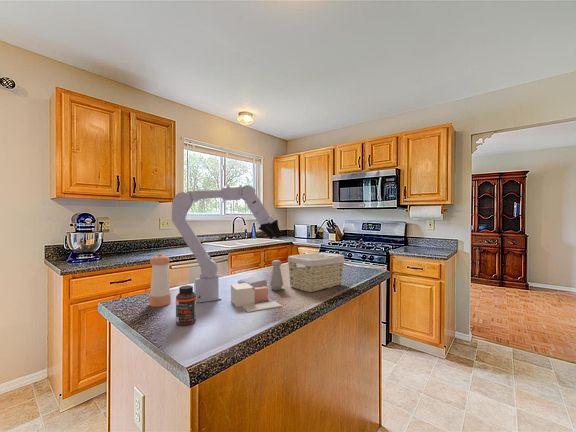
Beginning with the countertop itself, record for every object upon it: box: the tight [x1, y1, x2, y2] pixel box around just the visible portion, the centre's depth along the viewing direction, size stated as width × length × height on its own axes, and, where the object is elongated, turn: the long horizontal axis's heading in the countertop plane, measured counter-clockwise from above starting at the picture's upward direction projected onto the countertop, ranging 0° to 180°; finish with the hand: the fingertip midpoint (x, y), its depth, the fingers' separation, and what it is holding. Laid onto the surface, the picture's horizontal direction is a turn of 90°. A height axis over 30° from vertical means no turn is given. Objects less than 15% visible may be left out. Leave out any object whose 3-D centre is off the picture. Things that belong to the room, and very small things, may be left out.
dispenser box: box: [230, 283, 256, 308], centre depth 106 cm, size 7×8×6 cm
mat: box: [241, 300, 282, 313], centre depth 101 cm, size 13×6×1 cm, turn 116°
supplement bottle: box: [175, 284, 197, 327], centre depth 86 cm, size 6×6×11 cm
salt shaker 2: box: [269, 259, 284, 291], centre depth 125 cm, size 6×6×13 cm
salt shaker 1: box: [149, 253, 172, 308], centre depth 105 cm, size 7×7×19 cm
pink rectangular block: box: [254, 286, 269, 303], centre depth 108 cm, size 11×2×5 cm, turn 116°
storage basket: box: [287, 251, 345, 293], centre depth 130 cm, size 24×16×15 cm
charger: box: [236, 276, 268, 288], centre depth 126 cm, size 5×9×15 cm
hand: (275, 237), depth 118 cm, fingers open, 7 cm apart
